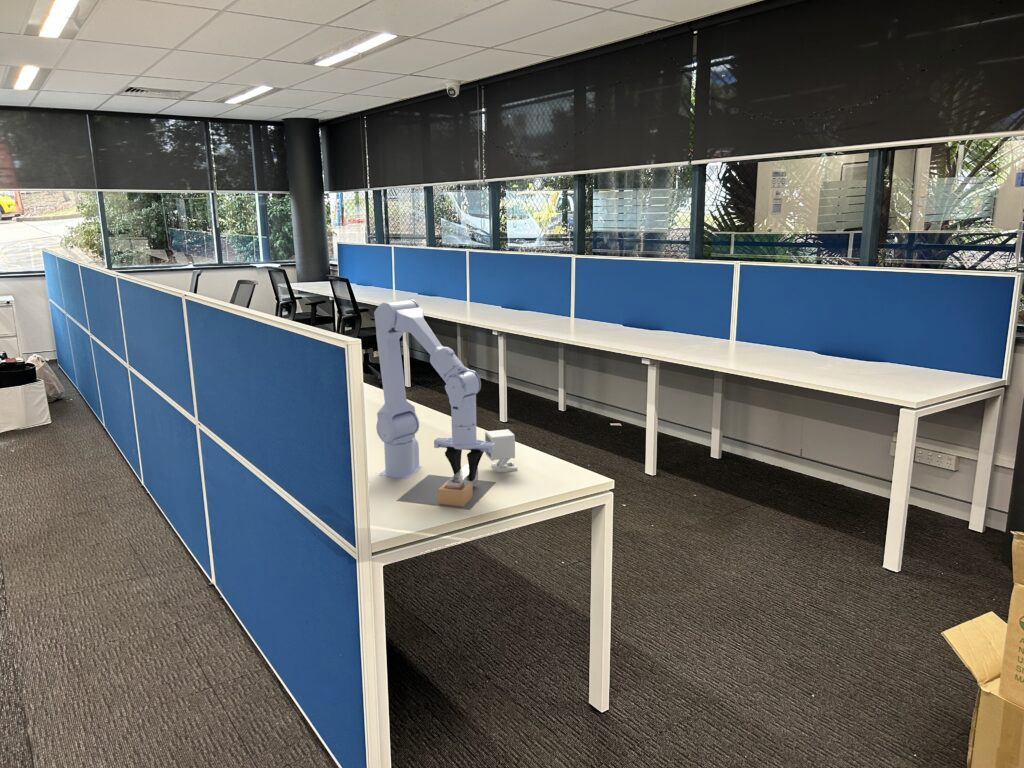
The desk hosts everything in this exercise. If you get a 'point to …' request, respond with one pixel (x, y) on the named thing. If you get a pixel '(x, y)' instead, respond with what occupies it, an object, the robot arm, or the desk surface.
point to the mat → (429, 493)
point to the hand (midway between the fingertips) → (465, 478)
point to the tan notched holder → (455, 495)
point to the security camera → (502, 449)
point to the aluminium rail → (461, 479)
